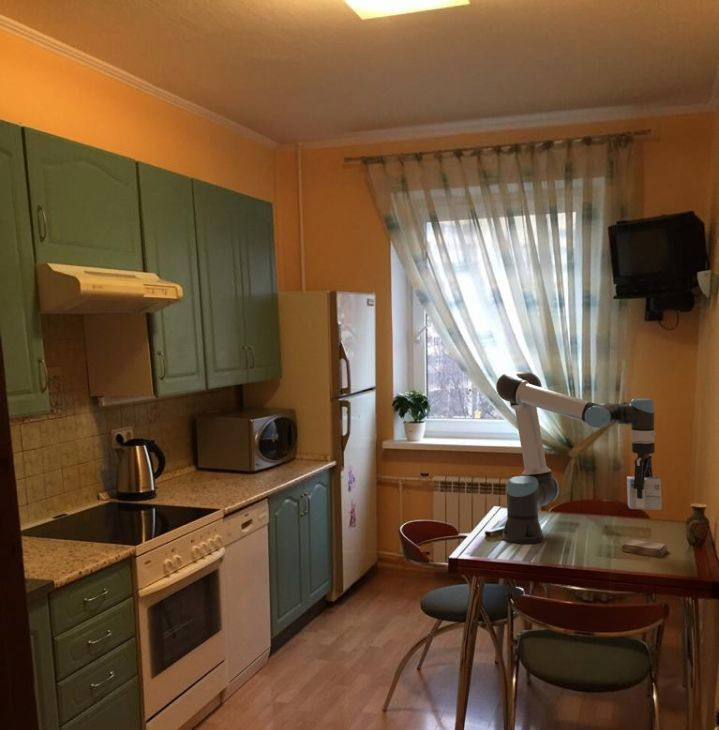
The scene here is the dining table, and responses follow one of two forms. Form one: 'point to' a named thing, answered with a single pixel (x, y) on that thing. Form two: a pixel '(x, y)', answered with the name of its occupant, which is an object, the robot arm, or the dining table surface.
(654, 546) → the brown flat tray
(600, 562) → the dining table surface
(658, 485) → the light bulb box
